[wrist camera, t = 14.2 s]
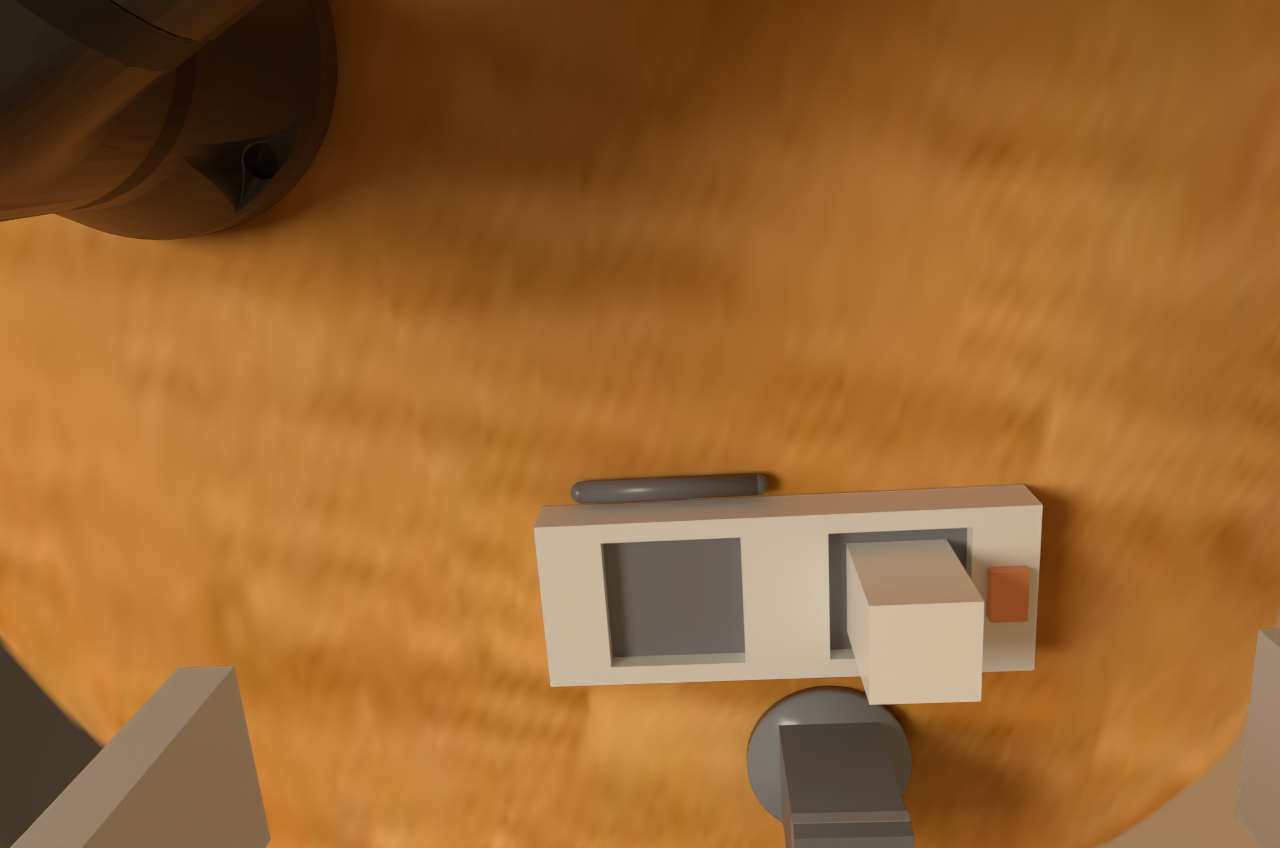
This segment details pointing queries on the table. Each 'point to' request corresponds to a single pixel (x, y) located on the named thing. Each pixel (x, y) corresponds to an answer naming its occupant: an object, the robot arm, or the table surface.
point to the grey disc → (818, 709)
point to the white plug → (914, 622)
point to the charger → (840, 788)
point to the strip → (758, 575)
